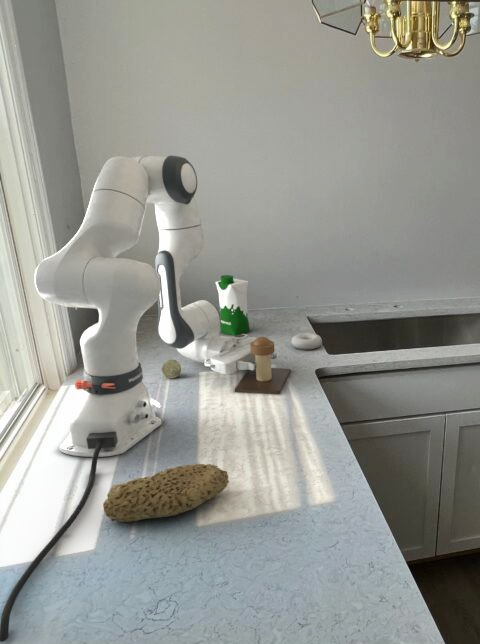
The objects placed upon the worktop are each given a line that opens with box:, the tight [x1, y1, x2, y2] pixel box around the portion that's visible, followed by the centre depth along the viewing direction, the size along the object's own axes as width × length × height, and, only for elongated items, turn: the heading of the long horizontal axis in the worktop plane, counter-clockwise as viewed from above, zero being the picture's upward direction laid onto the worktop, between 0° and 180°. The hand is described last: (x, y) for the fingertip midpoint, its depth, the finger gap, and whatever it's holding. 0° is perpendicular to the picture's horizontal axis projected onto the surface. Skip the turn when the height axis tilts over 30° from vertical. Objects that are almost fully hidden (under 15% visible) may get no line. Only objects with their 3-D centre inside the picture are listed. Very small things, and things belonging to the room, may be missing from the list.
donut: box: [291, 332, 323, 351], centre depth 183 cm, size 10×4×10 cm
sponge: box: [102, 463, 230, 523], centre depth 101 cm, size 13×8×20 cm
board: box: [234, 367, 292, 395], centre depth 156 cm, size 16×12×1 cm
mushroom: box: [250, 336, 275, 381], centre depth 154 cm, size 6×6×12 cm
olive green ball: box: [161, 359, 182, 379], centre depth 156 cm, size 4×5×5 cm
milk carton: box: [215, 274, 251, 336], centre depth 191 cm, size 9×9×20 cm
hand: (265, 361), depth 153 cm, fingers open, 8 cm apart
